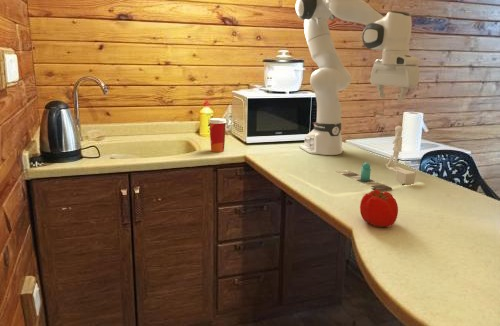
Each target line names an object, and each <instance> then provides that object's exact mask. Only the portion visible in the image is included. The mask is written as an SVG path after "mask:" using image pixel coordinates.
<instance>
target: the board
mask: <svg viewBox="0 0 500 326" xmlns="http://www.w3.org/2000/svg"><path fill="white" fill-rule="evenodd" d="M335 173H337V174H340V175H342V176H345V177H348V178H349V179H352V180H355V181H357V182H358V183H362V184H365V185H366V186H369V187H371V191H373V190H378V191H381V192H388V191H392V190H393V188H392V187H391V186H388V185H386V184H383V183H381V182H379V181H376V180H374V179H371V178H370V181H369V182H364V181H361V174H358V173H356V172H352V171H350V170H347V169H346V170H337V171H335Z"/></svg>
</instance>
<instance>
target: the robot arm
mask: <svg viewBox="0 0 500 326" xmlns="http://www.w3.org/2000/svg"><path fill="white" fill-rule="evenodd" d="M294 10H295V14H296V15H297V16H298V18H299V19H300V20H303V21H304V22H303V29H304V36H305V39H306V44H307V46H308V50H309V53H310V54H309V55H310V56H311V59H312V61H313V62H314V63H315V64H316V65H317V67H318V69H316V70H314V71H313V72H312V73H311V75H310V78H309V84H310V85H309V86H310V87H311V88H312V89H313V91H314V95H315V99H316V120H315V122H312V124H313V129H312V130H311V131H310V132H308V133H307V134H306V135H305V138H304V143H302V144H299V146H298V148H300V149H301V150H303V151H304V152H306V153H308V154H312V155H322V156H325V155H326V156H335V155H341V154H343V151H344V148H343V140H342V139H343V136H342V135H343V134H342V133H341V130H342V122H341V121H342V111H343V109H342V108H343V107H342V104H341V102H340V100H339V94H338V92H341V91H343V90H345V89H347V88H348V87H349V86H350V84H351V82H352V75H351V73H350V72H349V70H348V69H347V68H346V67H345V66H344V63H343V61H342V60H341V58H340V56H339V54H338V52H337V50H336V47H335V44H334V40H333V38H332V34H331V31H330V29H329V28H330V27H329V24H328V23H329V20H334V19H335V18H337V19H339V20H341V21H345V22H353V23H358V24H361V25H365V27H364V29H363V31H362V33H361V34H362V35H361V41H362V44H363V45H364V48H367V49H368V50H372V51H373V50H375V51H382V55H381V59H380V58H379V59H376V60H375V61H374V62H373V65H372V69H371V73H370V77H369V82H370V85H376V89H377V91H378V99H379V98H380V99H381V98H383V99H384V98H386V92H385V91H384V88H385V86H386V87H387V86H388V87H398V88H400V93H399V94H398V95H397V100H398V101H404V100H405V96H406V95H407V94H408V93H407V92H408V91H409V89H414V88H417V86H418V84H419V82H420V81H419V80H420V68H419V65H420V64H421V59H420V58H418V57H416V56H414V55H412V54H410V47H409V45H410V44H409V43H410V40H411V38H412V37H411V36H412V24H413V23H412V16H411V14H410V13H409V12H407V11H398V10H390V11H388V12H387V13H386V15H384V14H382V13H381V12H380V11H378V10H377V9H375V8H374V7H372V6H371V5H370V4H369V3H367V2H366V1H364V0H296V1H295V9H294Z"/></svg>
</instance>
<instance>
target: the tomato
mask: <svg viewBox="0 0 500 326" xmlns="http://www.w3.org/2000/svg"><path fill="white" fill-rule="evenodd" d="M359 210H360V211H359V212H360V215H361V218H362V219H363V221H365V222H366V223H368V224H369V225H370V224H371V225H372V226H374V227H376V228H377V227H378V228H380V227H383V228H388V227H391V226H393V225H394V223H395V222H396V221H397V218H398V215H399V206H398V203H397V200H396V198H395V197H394V195H393V194H392V193H390V191H389V192H388V191H378V190H370V191H369V192H367V193H365V194H364V195H363V196H362V198H361V200H360V206H359Z"/></svg>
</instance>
